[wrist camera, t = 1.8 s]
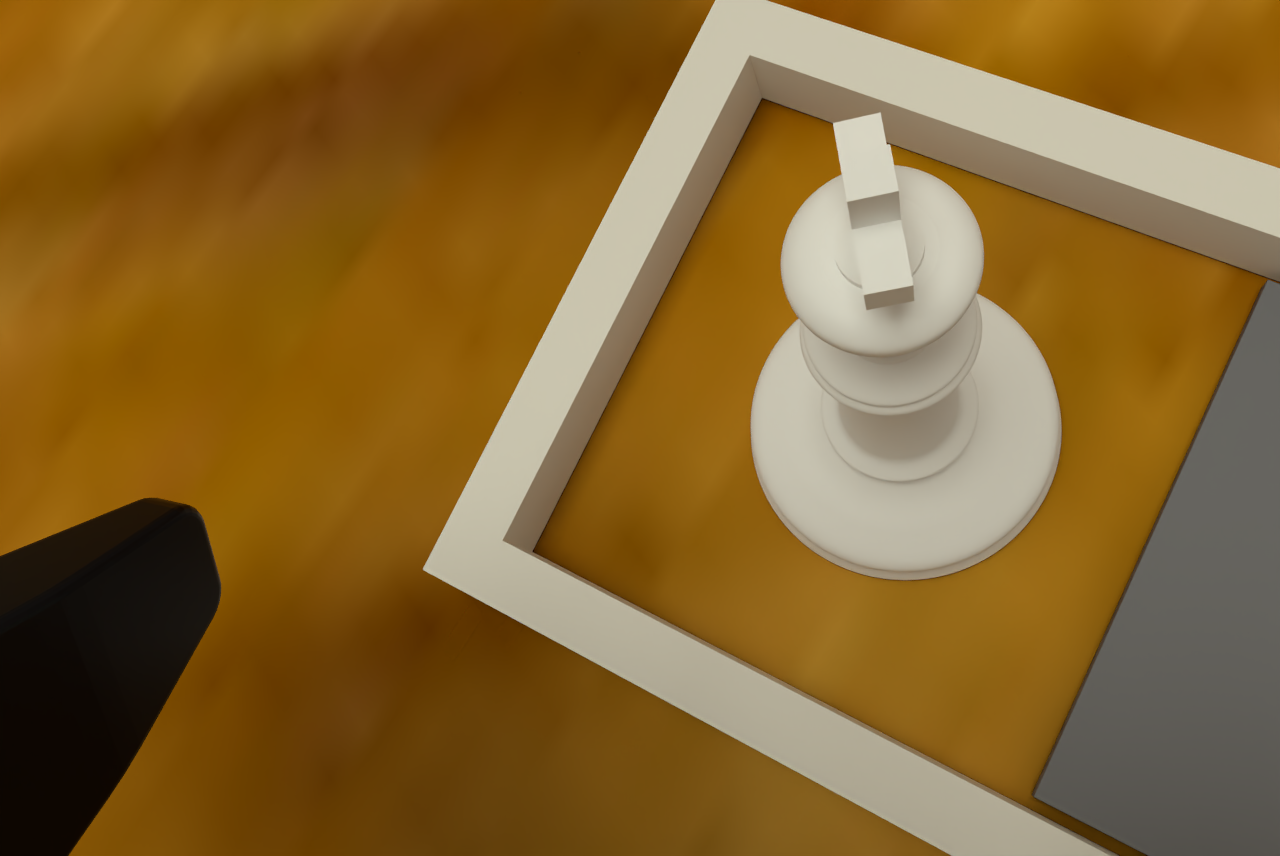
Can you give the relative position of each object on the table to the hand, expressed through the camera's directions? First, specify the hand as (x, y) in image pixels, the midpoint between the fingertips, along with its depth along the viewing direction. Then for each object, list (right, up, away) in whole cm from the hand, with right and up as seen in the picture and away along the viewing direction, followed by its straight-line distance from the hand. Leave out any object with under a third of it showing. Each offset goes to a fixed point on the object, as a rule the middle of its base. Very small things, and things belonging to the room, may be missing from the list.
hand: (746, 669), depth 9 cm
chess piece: (+4, +2, +11) cm, 12 cm away
